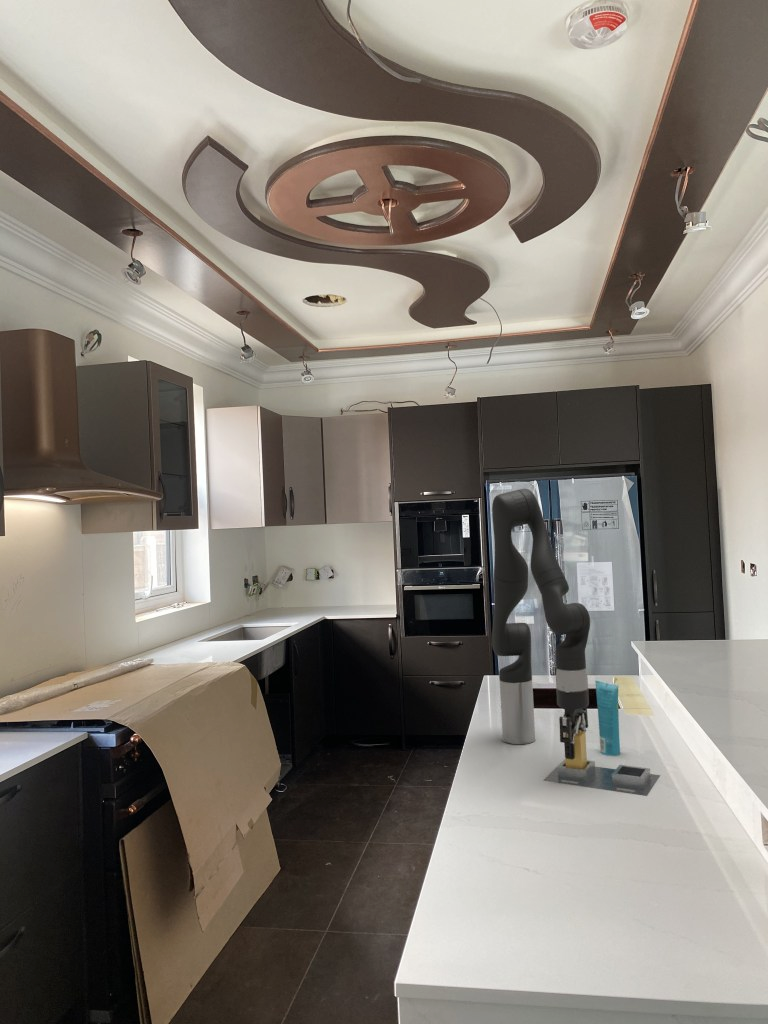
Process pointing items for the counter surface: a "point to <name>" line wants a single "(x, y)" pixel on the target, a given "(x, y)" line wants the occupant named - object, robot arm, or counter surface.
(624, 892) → the counter surface
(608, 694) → the tube
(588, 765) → the panel
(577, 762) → the plug
